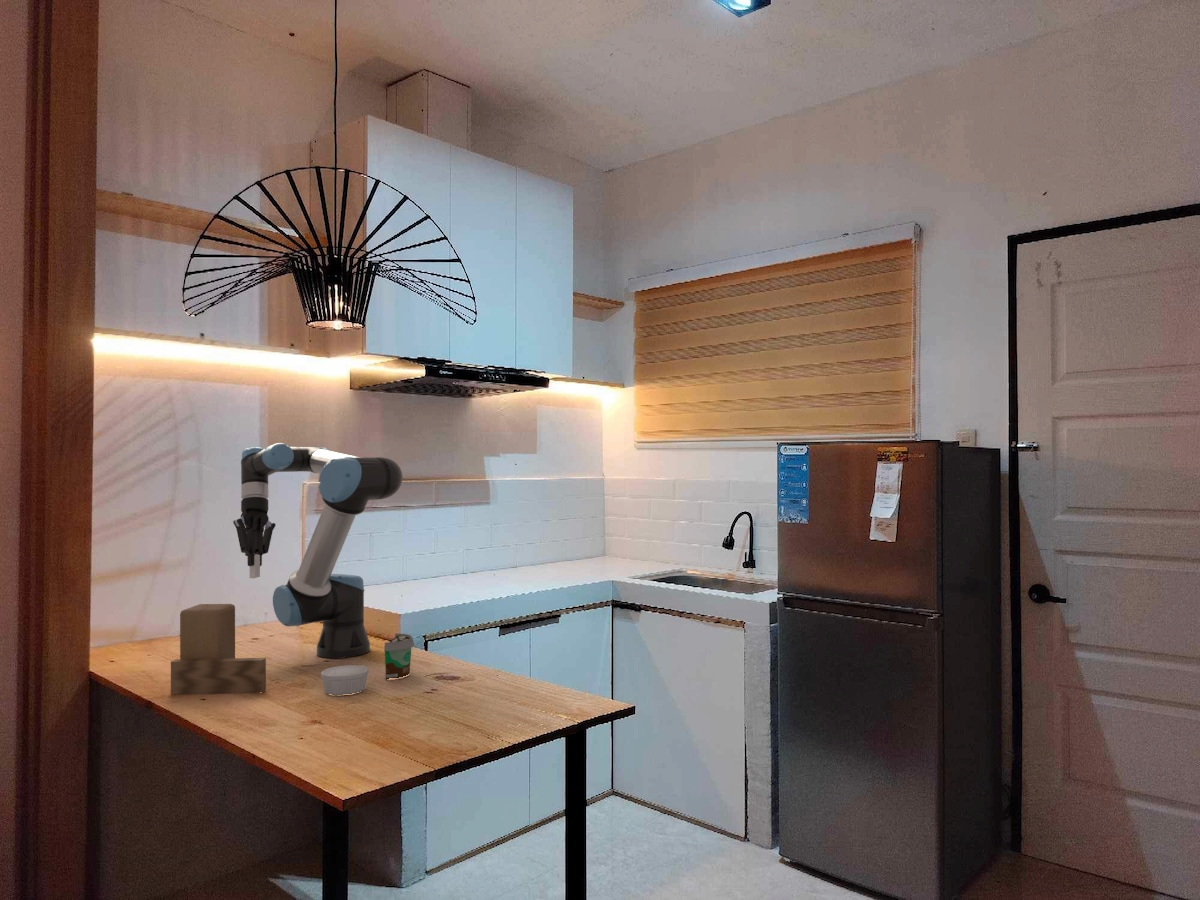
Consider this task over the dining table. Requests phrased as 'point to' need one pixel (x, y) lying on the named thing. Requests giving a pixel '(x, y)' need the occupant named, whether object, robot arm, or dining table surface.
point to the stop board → (218, 676)
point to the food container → (398, 656)
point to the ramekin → (344, 679)
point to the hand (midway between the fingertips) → (254, 577)
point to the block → (207, 632)
